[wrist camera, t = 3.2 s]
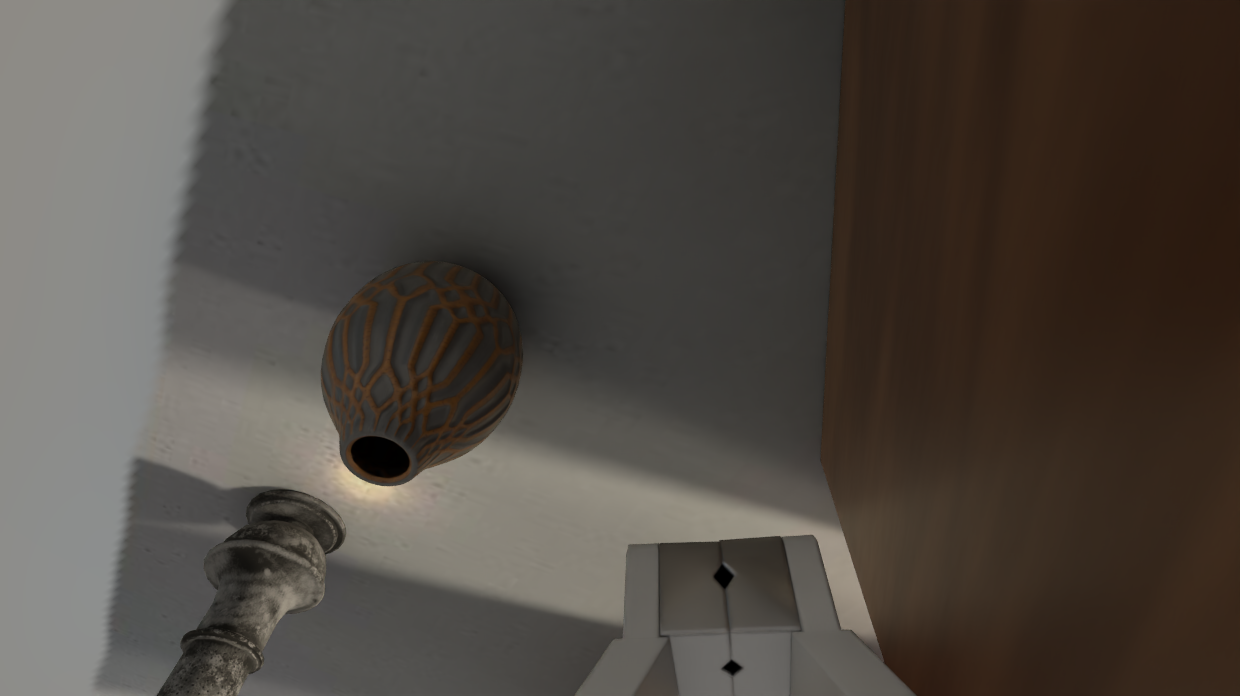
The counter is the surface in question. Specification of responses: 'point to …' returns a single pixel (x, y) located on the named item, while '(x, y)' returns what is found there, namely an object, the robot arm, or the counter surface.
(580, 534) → the counter surface
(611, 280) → the counter surface
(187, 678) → the grey stone turned figure
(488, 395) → the vase
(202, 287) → the counter surface
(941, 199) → the cupboard door
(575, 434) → the counter surface
